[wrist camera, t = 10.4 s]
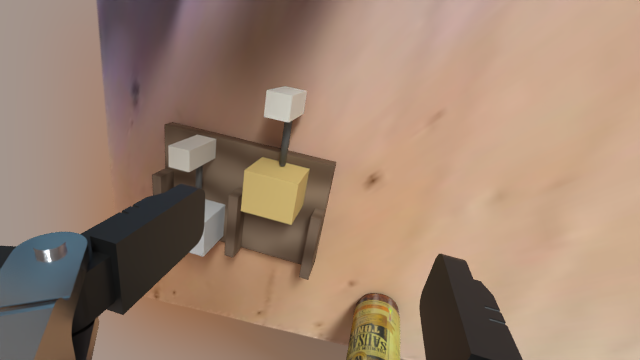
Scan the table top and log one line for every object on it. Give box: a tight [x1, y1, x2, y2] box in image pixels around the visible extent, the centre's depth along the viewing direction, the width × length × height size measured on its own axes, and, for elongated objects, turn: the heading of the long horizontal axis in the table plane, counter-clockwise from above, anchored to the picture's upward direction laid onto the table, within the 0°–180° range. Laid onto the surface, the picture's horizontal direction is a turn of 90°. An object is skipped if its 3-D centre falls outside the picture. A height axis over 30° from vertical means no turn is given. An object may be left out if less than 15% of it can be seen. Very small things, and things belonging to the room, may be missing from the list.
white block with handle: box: [168, 135, 225, 257], centre depth 37 cm, size 14×6×6 cm, turn 169°
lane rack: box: [152, 122, 336, 280], centre depth 39 cm, size 15×22×4 cm
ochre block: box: [241, 86, 310, 225], centre depth 33 cm, size 14×6×6 cm, turn 169°
